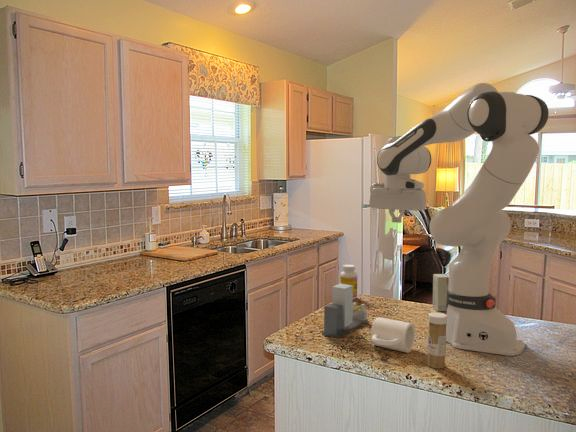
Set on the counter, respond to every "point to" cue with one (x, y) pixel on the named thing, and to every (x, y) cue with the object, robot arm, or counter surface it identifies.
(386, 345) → the mug
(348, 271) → the supplement bottle
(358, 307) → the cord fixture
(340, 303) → the box sleeve
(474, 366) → the counter surface
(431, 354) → the sprinkles bottle
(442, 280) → the skincare box
